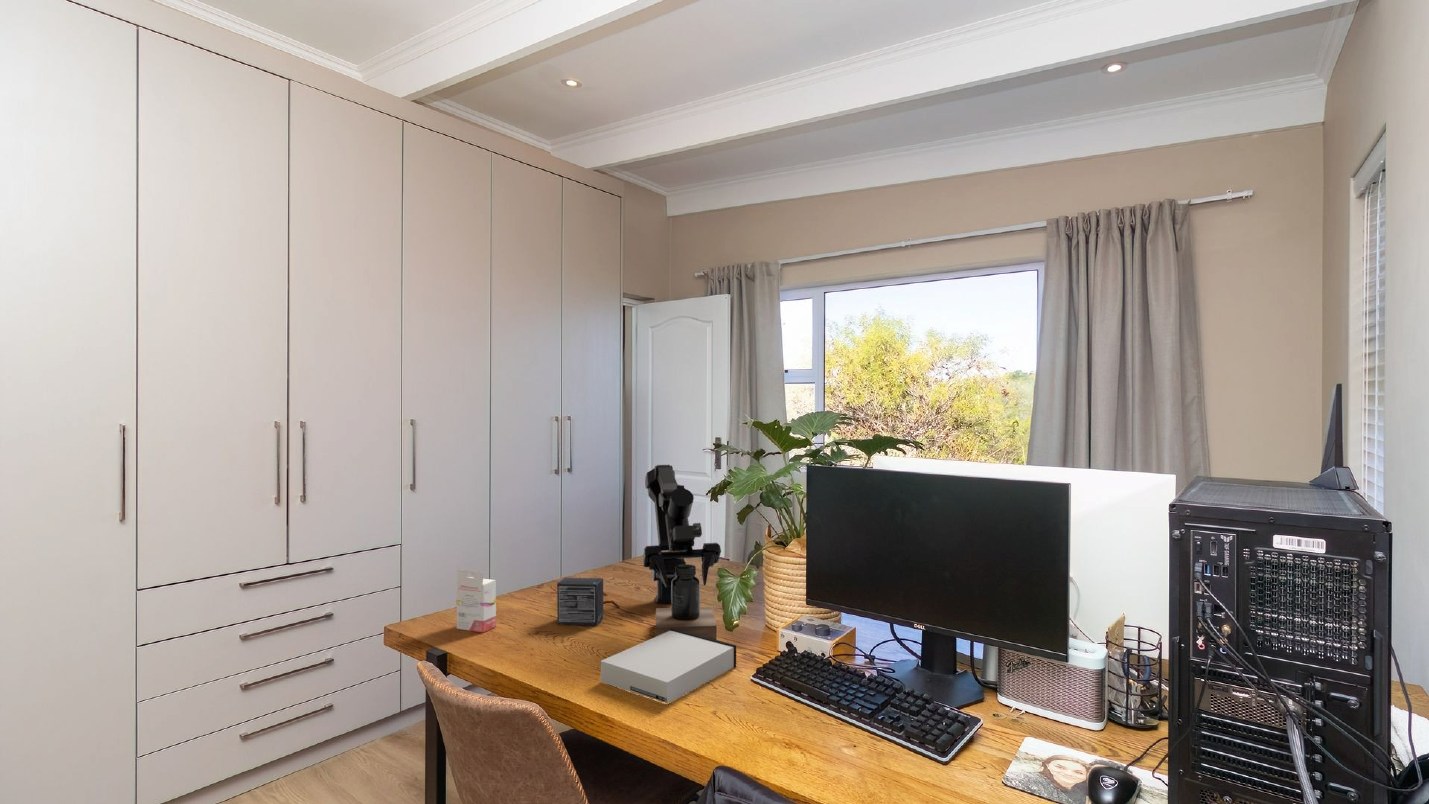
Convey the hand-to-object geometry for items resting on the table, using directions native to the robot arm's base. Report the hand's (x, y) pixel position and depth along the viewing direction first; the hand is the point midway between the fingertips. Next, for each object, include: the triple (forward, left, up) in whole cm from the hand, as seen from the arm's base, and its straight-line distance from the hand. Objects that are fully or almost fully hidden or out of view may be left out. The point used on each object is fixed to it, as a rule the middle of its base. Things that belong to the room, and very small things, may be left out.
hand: (686, 585), depth 161 cm
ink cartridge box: (-9, -51, -12) cm, 53 cm away
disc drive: (+22, -4, -13) cm, 26 cm away
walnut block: (-1, 0, -12) cm, 12 cm away
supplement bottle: (-1, 0, -8) cm, 8 cm away
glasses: (-27, -25, -13) cm, 39 cm away
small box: (-12, -26, -12) cm, 31 cm away
